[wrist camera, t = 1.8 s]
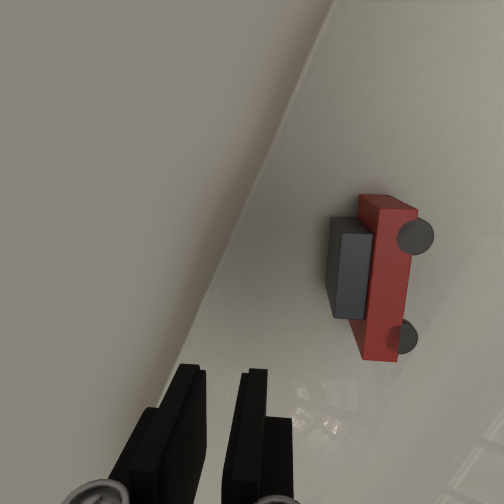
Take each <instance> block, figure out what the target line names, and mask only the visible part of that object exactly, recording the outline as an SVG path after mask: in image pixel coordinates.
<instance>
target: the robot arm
mask: <svg viewBox="0 0 504 504" xmlns="http://www.w3.org/2000/svg"><path fill="white" fill-rule="evenodd" d="M267 375H268V369H254V368H250V369H249V373H242V375H241V380H240V385H239V390H238V396H237V401H236V406H235V411H234V416H233V421H232V427H231V432H230V437H229V442H228V447H227V452H226V458H225V463H224V468H223V475H222V488H221V504H300V503H299V502H298V501H296V500H294V492H293V445H292V418H281V417H269V416H266V400H267ZM206 448H207V424H206V371H205V370H200V366H199V365H196V364H180V365H179V367H178V369H177V371H176V373H175V375H174V377H173V379H172V381H171V383H170V386H169V388H168V390H167V392H166V394H165V396H164V398H163V400H162V402H161V404H160V406H159V408H153V407H148V408H146V409H145V410H144V412H143V414H142V415H141V417H140V419H139V421H138V423H137V425H136V427H135V429H134V430H133V432H132V434H131V436H130V438H129V440H128V442H127V443H126V445H125V447H124V449H123V451H122V453H121V455H120V457H119V459H118V461H117V462H116V464H115V466H114V468H113V470H112V472H111V473H110V475H109V477H108V479H99V480H95V481H91V482H88V483H86V484H84V485H82V486H80V487H79V488H77V489H76V490H74V491H73V492H71V493H70V494H69V495H68V497H67V498H66V499H65V500H64V501H63V502H62V503H61V504H193V503H194V499H195V495H196V491H197V487H198V484H199V480H200V476H201V472H202V468H203V464H204V460H205V456H206Z"/></svg>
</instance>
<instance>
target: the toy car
mask: <svg viewBox="0 0 504 504" xmlns="http://www.w3.org/2000/svg"><path fill="white" fill-rule="evenodd" d="M417 215H418V209H416V208H414V207H412V206H410V205H408V204H406V203H404V202H402V201H400V200H398V199H396V198H394V197H392V196H390V195H372V194H360V195H359V203H358V213H357V217H331V226H330V239H329V251H328V264H327V276H326V291H327V295H328V299H329V302H330V306H331V310H332V314H333V317H334V318H338V319H348V320H349V323H350V326H351V328H352V331H353V334H354V337H355V340H356V343H357V346H358V348H359V351H360V354H361V357H362V360H372V361H386V362H397V358H398V354H405V353H408V352H410V351H411V350H412V349H413V348H414V347H415V346H416V344H417V341H418V334H417V331H416V330H415V328H414V327H413V325H412V324H411V323H410V322H409V321H407V320H405V319H403V315H404V308H405V301H406V294H407V286H408V279H409V272H410V265H411V258H412V255H419V254H421V253H423V252H425V251H426V250H428V249H429V248H430V246H431V245H432V243H433V240H434V231H433V228H432V227H431V225H430V224H429V223H428V222H426V221H425V220H423V219H421V218H419V217H417Z"/></svg>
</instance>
